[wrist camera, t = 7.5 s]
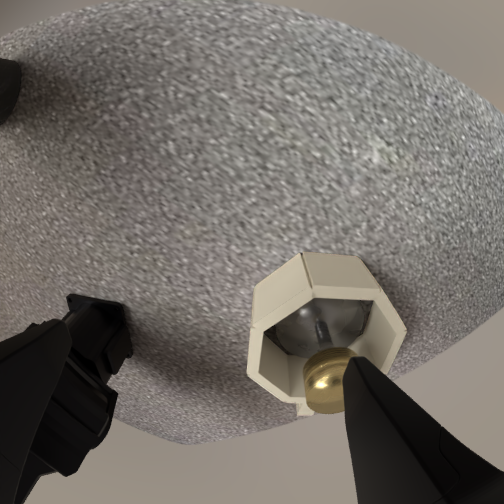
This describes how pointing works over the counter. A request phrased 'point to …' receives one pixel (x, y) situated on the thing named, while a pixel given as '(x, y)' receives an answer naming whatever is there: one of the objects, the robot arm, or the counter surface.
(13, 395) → the robot arm
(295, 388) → the cream octagonal ring
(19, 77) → the travel mug
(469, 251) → the counter surface
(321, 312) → the plunger
